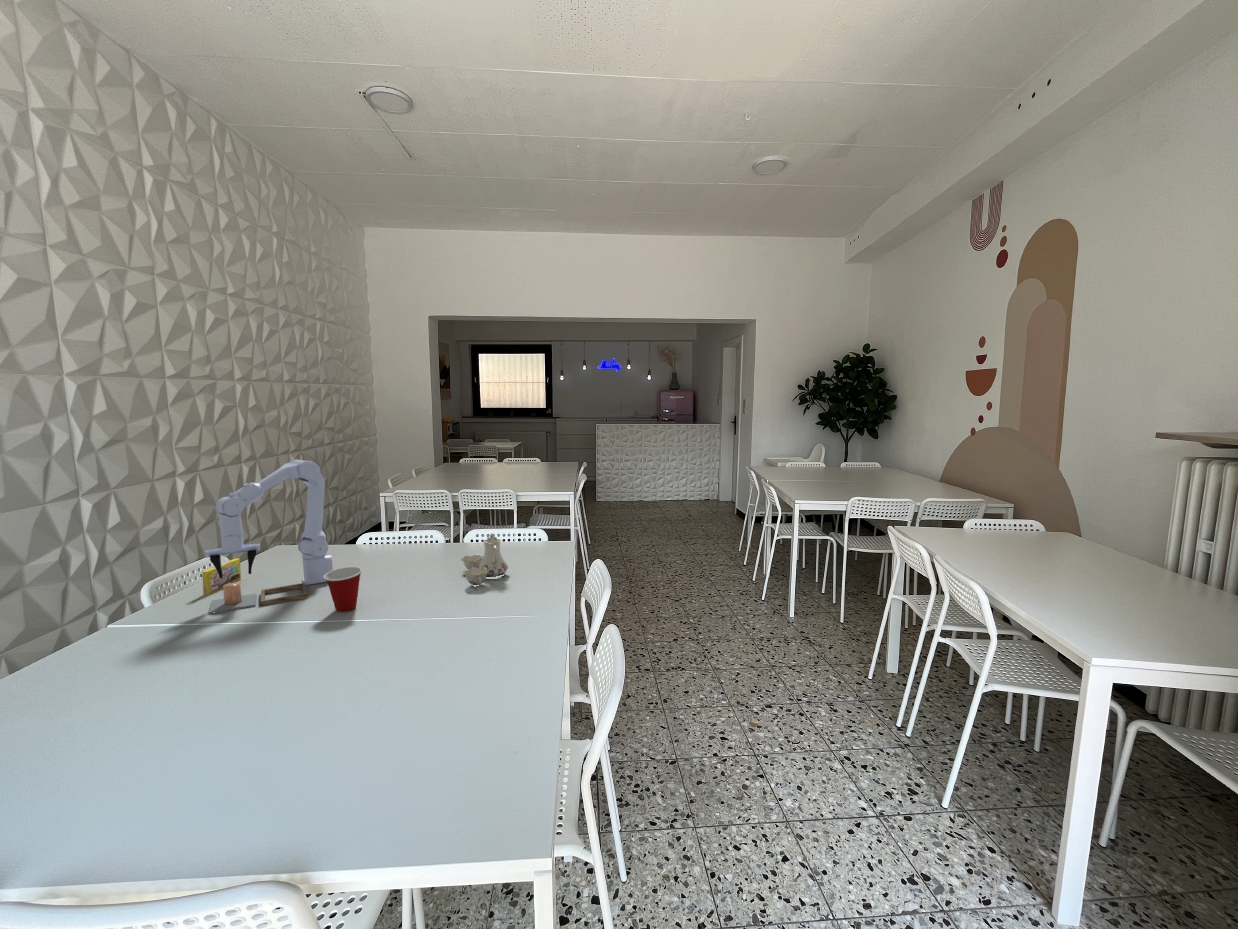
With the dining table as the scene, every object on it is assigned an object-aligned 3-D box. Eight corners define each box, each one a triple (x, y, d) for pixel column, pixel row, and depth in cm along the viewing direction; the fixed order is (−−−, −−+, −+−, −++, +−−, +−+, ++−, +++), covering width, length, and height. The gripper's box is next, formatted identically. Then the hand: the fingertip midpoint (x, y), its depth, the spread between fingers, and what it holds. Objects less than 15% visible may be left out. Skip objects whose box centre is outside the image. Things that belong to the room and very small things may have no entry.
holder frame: (305, 586, 197) (305, 582, 196) (307, 598, 186) (307, 593, 185) (261, 593, 190) (261, 589, 190) (261, 605, 179) (260, 601, 179)
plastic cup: (318, 611, 174) (315, 574, 172) (349, 600, 183) (346, 564, 182) (341, 618, 169) (338, 579, 167) (371, 606, 178) (369, 569, 177)
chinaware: (458, 573, 216) (451, 531, 214) (501, 563, 223) (495, 523, 220) (469, 596, 191) (462, 549, 188) (517, 585, 197) (511, 539, 194)
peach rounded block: (223, 602, 180) (222, 584, 180) (241, 599, 183) (239, 581, 183) (226, 608, 175) (224, 589, 175) (243, 604, 178) (241, 586, 178)
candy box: (209, 595, 189) (206, 571, 188) (202, 595, 189) (200, 571, 188) (242, 580, 205) (240, 558, 204) (236, 580, 205) (234, 558, 204)
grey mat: (256, 595, 189) (256, 593, 189) (255, 606, 179) (255, 604, 178) (212, 602, 182) (212, 600, 182) (208, 614, 172) (208, 612, 172)
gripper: (258, 528, 187) (262, 568, 189) (205, 534, 179) (209, 576, 181) (258, 533, 181) (262, 573, 183) (203, 539, 174) (207, 582, 175)
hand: (235, 575), depth 182 cm, fingers open, 7 cm apart
